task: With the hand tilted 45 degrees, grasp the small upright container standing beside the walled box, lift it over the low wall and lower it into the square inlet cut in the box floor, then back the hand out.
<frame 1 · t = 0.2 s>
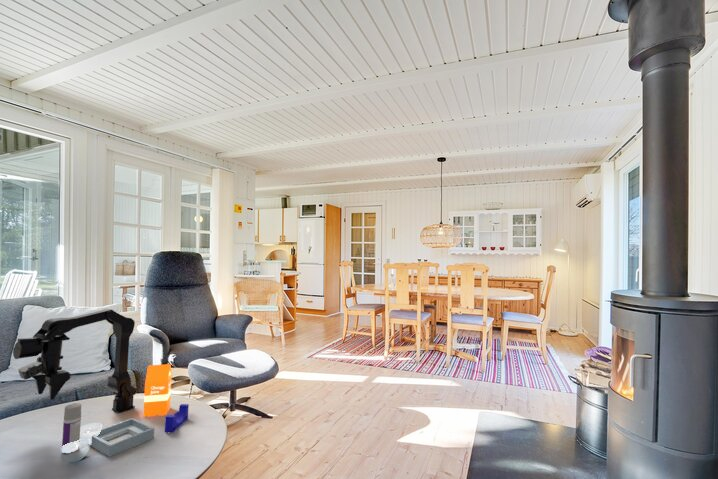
hand: (46, 396, 132), 14 cm above the table, tool pointing down, fingers open, 9 cm apart
container: (70, 451, 123), on the table
walled box: (121, 440, 130), on the table
orange juice: (157, 412, 154), on the table
cable clip: (174, 426, 143), on the table
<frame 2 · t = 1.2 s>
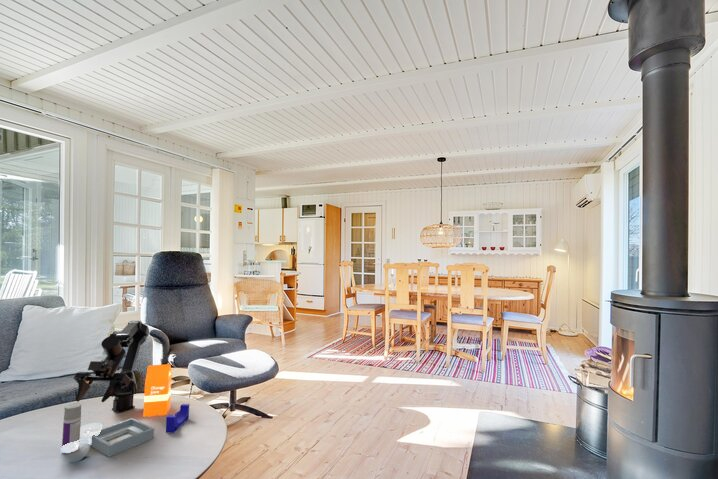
hand: (89, 401, 131), 13 cm above the table, tool tilted 45°, fingers open, 9 cm apart
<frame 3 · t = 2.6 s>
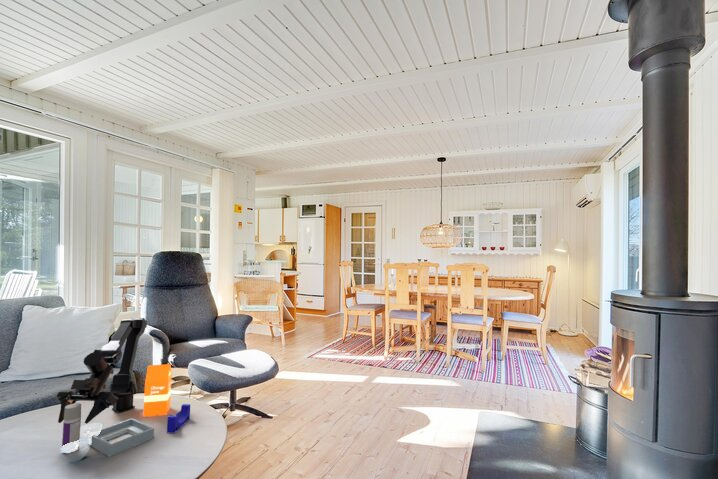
hand: (72, 422, 123), 9 cm above the table, tool tilted 45°, fingers open, 9 cm apart
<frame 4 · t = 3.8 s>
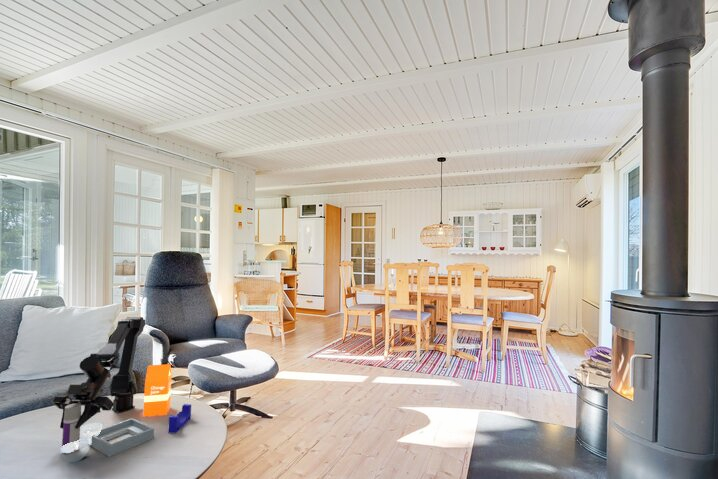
hand: (68, 428, 122), 8 cm above the table, tool tilted 45°, fingers closed on container, 5 cm apart
container: (70, 451, 123), on the table, touching gripper
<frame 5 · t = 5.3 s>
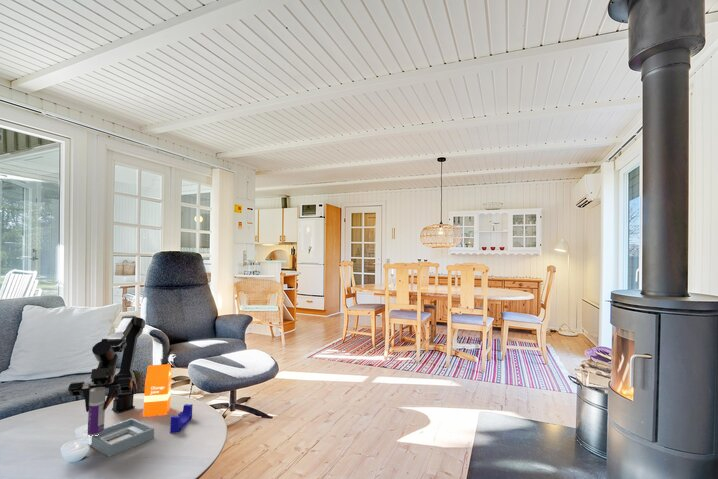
hand: (95, 410, 125), 13 cm above the table, tool tilted 45°, fingers closed on container, 5 cm apart
container: (95, 432, 126), point 5 cm above the table, touching gripper
when the fingers open (9 cm above the table, at t = 7.2 s): container stays where it is, resting in walled box.
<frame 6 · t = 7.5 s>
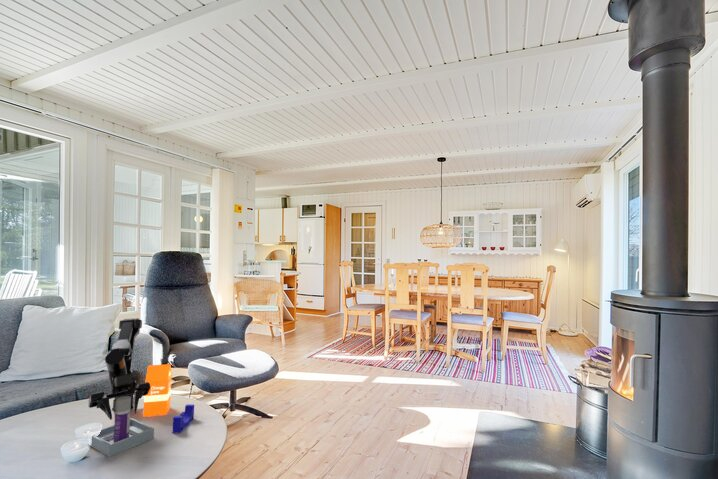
hand: (123, 416, 129), 9 cm above the table, tool tilted 45°, fingers open, 7 cm apart
container: (121, 441, 130), resting in walled box
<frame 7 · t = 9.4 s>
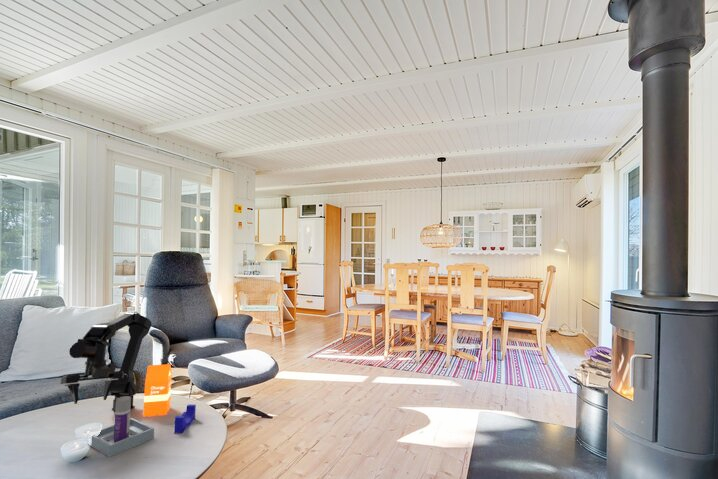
hand: (90, 401, 134), 12 cm above the table, tool tilted 15°, fingers open, 9 cm apart
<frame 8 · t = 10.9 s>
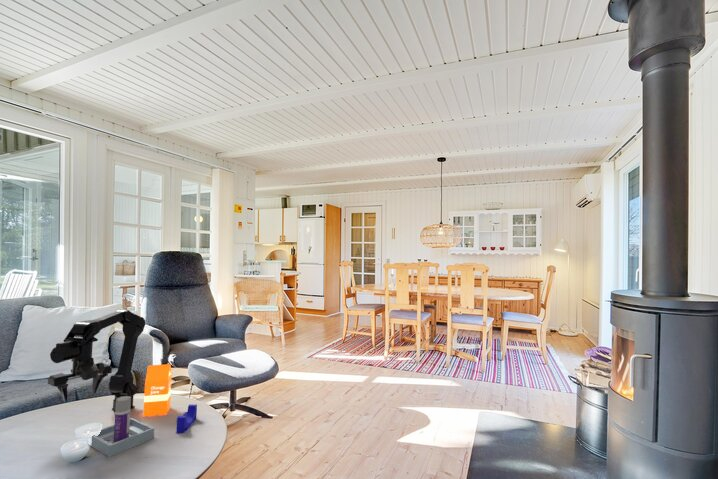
hand: (80, 397, 136), 13 cm above the table, tool pointing down, fingers open, 9 cm apart
at the end: container 0.2 cm off-centre on the walled box, point 0.0 cm above the walled box's base; container tilted 0°; the gripper is holding nothing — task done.
